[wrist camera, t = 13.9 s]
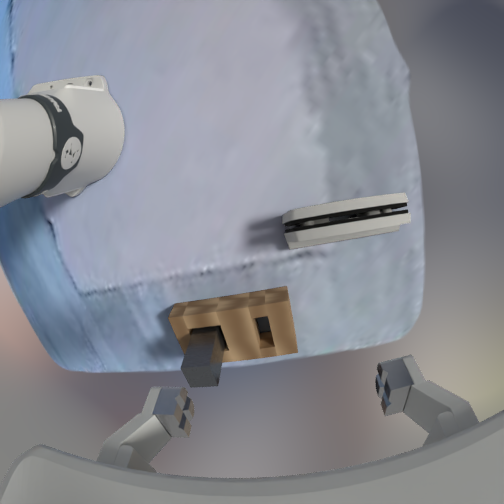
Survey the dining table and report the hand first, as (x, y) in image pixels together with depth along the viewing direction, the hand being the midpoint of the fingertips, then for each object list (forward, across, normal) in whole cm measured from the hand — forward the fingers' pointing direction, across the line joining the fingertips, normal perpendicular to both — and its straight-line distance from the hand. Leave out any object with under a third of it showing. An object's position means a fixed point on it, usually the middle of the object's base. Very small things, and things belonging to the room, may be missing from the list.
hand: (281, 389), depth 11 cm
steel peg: (+30, +12, +18) cm, 38 cm away
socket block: (+30, +8, +18) cm, 36 cm away
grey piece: (+31, -10, +3) cm, 32 cm away
